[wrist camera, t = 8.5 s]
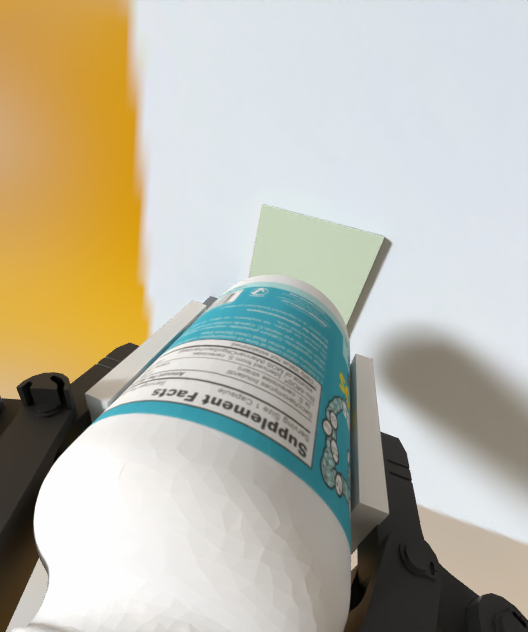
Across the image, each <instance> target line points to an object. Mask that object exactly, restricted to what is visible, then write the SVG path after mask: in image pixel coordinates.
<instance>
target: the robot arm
mask: <svg viewBox="0 0 528 632" xmlns="http://www.w3.org/2000/svg"><path fill="white" fill-rule="evenodd" d="M206 307H207V305H204V304H201V303H198V302H195V301H192V302H190V303H189V304H188V305H187V306H186V307H185V308H184V309H182V310H181V311H180V312H179V313H178V314H177V315H175V316H174V317H173V318H172V319H171V320H170V321H168V322H167V323H166V324H165V325H164V326H163V327H161V328H160V329H159V330H158V331H157V332H156V333H154V334H153V335H152V336H151V337H150V338H149V339H147V340H146V341H145V342H144V343H143V344H142V345H141V346H138V345H135V344H132V343H128V344H125V345H123V346H120V347H118V348H116V349H115V350H113V351H112V352H111V353H110V354H108V355H107V356H106V358H103V359H102V360H101V361H99V362H98V364H97V365H94V366H93V367H92V368H90V369H89V370H88V371H87V372H85V373H84V374H83V375H81V376H80V377H79V378H78V379H76V380H75V381H74V382H73V383H71V384H70V382H69V379H68V378H67V377H66V376H65V375H63V374H60V373H54V372H53V373H43V374H39V375H35V376H32V377H30V378H29V379H27V380H25V381H23V382H22V383H21V384H20V385H18V386H17V391H18V393H19V395H20V398H21V400H18V399H17V400H16V399H3V398H1V397H0V632H5V631H6V629H7V627H8V625H9V623H10V620H11V618H12V616H13V614H14V612H15V610H16V607H17V605H18V603H19V601H20V598H21V596H22V594H23V592H24V590H25V587H26V585H27V583H28V580H29V578H30V576H31V574H32V572H33V570H34V567H35V565H36V563H37V561H38V559H39V555H38V552H37V548H36V544H35V539H34V512H35V506H36V502H37V498H38V495H39V491H40V489H41V486H42V484H43V482H44V480H45V478H46V476H47V475H48V473H49V471H50V470H51V468H52V466H53V465H54V463H55V462H56V461H57V459H58V458H59V457H60V456H61V455H62V454H63V453H64V452H65V450H66V449H67V448H68V447H69V446H70V445H71V444H72V443H73V442H74V441H75V440H76V439H77V438H78V437H79V436H80V435H81V434H82V433H83V432H84V431H85V430H86V429H87V428H88V427H89V426H90V425H91V424H92V423H93V422H94V421H95V420H96V419H97V418H98V417H99V416H100V415H101V414H102V413H103V412H104V411H105V410H106V409H107V408H108V407H109V406H110V405H111V404H112V403H113V402H114V401H116V399H117V398H118V397H119V396H121V395H122V394H123V393H124V392H125V391H126V390H127V389H128V388H129V387H130V386H131V385H132V384H133V383H134V382H135V381H136V380H137V379H138V378H139V377H140V376H141V375H142V374H143V373H144V372H145V371H146V370H147V369H148V368H149V367H150V366H151V365H152V364H153V363H154V362H155V361H156V360H157V359H158V358H159V357H160V356H161V355H162V354H163V353H164V352H165V351H166V350H167V349H168V348H169V347H170V346H171V345H172V344H173V343H174V342H175V341H176V340H177V339H178V338H179V337H180V336H181V335H182V334H183V333H184V332H185V331H186V330H187V329H188V328H189V327H190V326H191V325H192V324H193V323H194V322H195V321H196V320H197V319H198V318H199V317H200V316H201V315H202V314H203V313H204V312H205V311H206ZM411 480H412V479H411V473H410V470H409V463H408V458H407V453H406V451H405V449H404V447H403V446H402V444H401V442H400V440H399V438H396V437H393V436H391V435H388V434H385V433H382V432H380V425H379V416H378V406H377V397H376V388H375V379H374V370H373V361H372V359H370V358H367V357H364V356H361V355H358V354H355V357H354V359H353V361H352V363H351V365H350V495H351V554H352V553H353V552H354V551H355V550H356V549H357V551H358V565H357V566H356V567H355V568H354V569H353V570H352V571H351V594H350V606H349V613H348V618H347V622H346V625H345V628H344V632H528V620H527V619H526V618H525V617H524V616H523V615H522V614H521V612H520V611H519V610H518V609H517V608H516V607H515V606H514V605H512V604H511V603H510V602H508V601H507V600H506V599H504V598H503V597H501V596H498V595H495V594H492V593H490V594H485V595H482V596H481V597H480V596H478V595H477V594H476V593H474V592H473V591H472V590H471V589H469V588H468V587H467V586H465V585H464V584H463V583H461V582H460V581H459V580H458V579H456V578H455V577H454V576H452V575H451V574H450V573H449V572H448V571H447V570H446V569H444V568H443V567H442V566H441V565H440V564H439V562H438V559H437V557H436V555H435V553H434V552H433V550H432V549H431V547H430V546H429V544H428V543H427V542H426V541H425V540H424V537H423V534H422V530H421V525H420V520H419V516H418V510H417V505H416V499H415V494H414V489H413V484H412V483H411Z"/></svg>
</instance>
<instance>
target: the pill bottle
mask: <svg viewBox="0 0 528 632" xmlns="http://www.w3.org/2000/svg"><path fill="white" fill-rule="evenodd" d="M34 539H35V544H36V548H37V552H38V555H39V558H40V560H41V562H42V564H43V566H44V568H45V569H46V571H47V574H48V588H47V592H46V595H45V597H44V600H43V602H42V605H41V606H40V608H39V610H38V612H37V614H36V615H35V617H34V619H33V620H32V621H31V622H30V623H29V625H27V626H25V627H16V628H14V629H13V630H12V631H11V632H344V628H345V625H346V622H347V618H348V613H349V606H350V594H351V495H350V343H349V335H348V331H347V328H346V325H345V322H344V320H343V318H342V316H341V314H340V312H339V311H338V309H337V308H336V307H335V305H334V304H333V303H332V302H331V300H330V299H329V298H327V297H326V296H325V295H324V294H323V293H322V292H321V291H319V290H318V289H316V288H315V287H313V286H311V285H310V284H308V283H306V282H303V281H301V280H298V279H295V278H292V277H288V276H282V275H260V276H255V277H251V278H248V279H245V280H243V281H241V282H239V283H236V284H235V285H233V286H232V287H231V288H229V289H228V290H227V291H226V292H224V293H223V294H222V295H221V296H220V297H219V298H218V299H217V300H216V301H215V302H214V303H213V304H212V305H211V306H210V307H209V308H208V309H207V310H206V311H205V312H204V313H203V314H202V315H201V316H200V317H199V318H198V319H197V320H196V321H195V322H194V323H193V324H192V325H191V326H190V327H189V328H188V329H187V330H186V331H185V332H184V333H183V334H182V335H181V336H180V337H179V338H178V339H177V340H176V341H175V342H174V343H173V344H172V345H171V346H170V347H169V348H168V349H167V350H166V351H165V352H164V353H163V354H162V355H161V356H160V357H159V358H158V359H157V360H156V361H155V362H154V363H153V364H152V365H151V366H150V367H149V368H148V369H147V370H146V371H145V372H144V373H143V374H142V375H141V376H140V377H139V378H138V379H137V380H136V381H135V382H134V383H133V384H132V385H131V386H130V387H129V388H128V389H127V390H126V391H125V392H124V393H123V394H122V395H121V396H119V397H118V398H117V399H116V401H114V402H113V403H112V404H111V405H110V406H109V407H108V408H107V409H106V410H105V411H104V412H103V413H102V414H101V415H100V416H99V417H98V418H97V419H96V420H95V421H94V422H93V423H92V424H91V425H90V426H89V427H88V428H87V429H86V430H85V431H84V432H83V433H82V434H81V435H80V436H79V437H78V438H77V439H76V440H75V441H74V442H73V443H72V444H71V445H70V446H69V447H68V448H67V449H66V450H65V452H64V453H63V454H62V455H61V456H60V457H59V458H58V459H57V461H56V462H55V463H54V465H53V466H52V468H51V470H50V471H49V473H48V475H47V476H46V478H45V480H44V482H43V484H42V486H41V489H40V491H39V495H38V498H37V502H36V506H35V512H34Z"/></svg>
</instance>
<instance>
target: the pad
mask: <svg viewBox="0 0 528 632" xmlns="http://www.w3.org/2000/svg"><path fill="white" fill-rule="evenodd" d="M383 240H384V236H382V235H378V234H374V233H371V232H367V231H363V230H359V229H355V228H352V227H348V226H344V225H340V224H337V223H333V222H329V221H325V220H322V219H318V218H314V217H310V216H307V215H303V214H299V213H295V212H292V211H288V210H284V209H280V208H276V207H273V206H269V205H265V204H264V205H262V208H261V213H260V219H259V224H258V230H257V235H256V241H255V246H254V252H253V257H252V263H251V268H250V273H249V278H251V277H255V276H260V275H282V276H288V277H292V278H295V279H298V280H301V281H303V282H306V283H308V284H310V285H311V286H313V287H315V288H316V289H318V290H319V291H321V292H322V293H323V294H324V295H325V296H326V297H327V298H329V299H330V300H331V302H332V303H333V304H334V305H335V307H336V308H337V309H338V311H339V312H340V314H341V316H342V318H343V320H344V322H345V325H347V323H348V321H349V318H350V316H351V314H352V312H353V309H354V307H355V305H356V302H357V300H358V298H359V295H360V293H361V291H362V288H363V286H364V284H365V281H366V279H367V277H368V274H369V272H370V270H371V268H372V265H373V263H374V261H375V258H376V256H377V254H378V251H379V249H380V247H381V244H382V242H383Z"/></svg>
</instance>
